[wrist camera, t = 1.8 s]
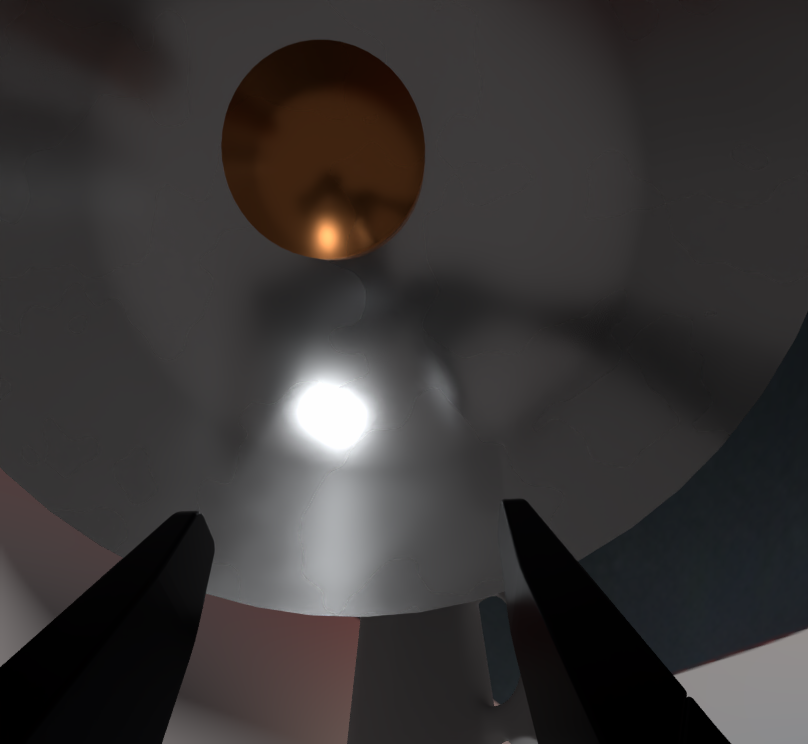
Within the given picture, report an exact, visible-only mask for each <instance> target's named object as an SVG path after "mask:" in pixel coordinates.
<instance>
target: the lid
mask: <svg viewBox="0 0 808 744" xmlns="http://www.w3.org/2000/svg"><path fill="white" fill-rule="evenodd" d="M807 312H808V0H0V467H1V468H2V469H3V471H4V472H5V473H6V474H8V475H9V476H10V477H11V478H12V479H13V480H14V481H16V482H17V483H18V484H19V485H20V486H21V487H23V488H24V489H25V490H26V491H27V492H28V493H30V494H31V495H32V496H33V497H35V499H37V500H38V501H39V502H40V503H41V504H43V505H44V506H45V507H46V508H47V509H48V510H49V511H50V512H52V513H53V514H55V515H56V516H58V517H59V518H61V519H62V520H64V521H65V522H66V523H68V524H69V525H71V526H72V527H74V528H75V529H77V530H78V531H80V532H81V533H83V534H84V535H85V536H87V537H88V538H90V539H91V540H93V541H94V542H96V543H97V544H99V545H100V546H102V547H104V548H106V549H108V550H110V551H112V552H114V553H115V554H117V555H119V556H121V557H123V558H124V557H125V556H126V555H127V554H128V553H129V552H131V551H132V550H133V549H134V548H135V547H136V546H137V545H138V544H140V543H141V542H142V541H143V540H144V539H145V538H146V537H147V536H149V535H150V534H151V533H152V532H153V531H154V530H155V529H156V528H158V527H159V526H160V525H161V524H162V523H163V522H164V521H165V520H167V519H168V518H169V517H170V516H171V515H172V514H174V513H176V512H179V511H199V512H201V513H202V514H203V516H204V518H205V520H206V523H207V525H208V527H209V530H210V532H211V534H212V537H213V539H214V543H215V554H214V559H213V563H212V568H211V572H210V577H209V581H208V586H207V590H206V594H210V595H213V596H217V597H221V598H225V599H228V600H232V601H236V602H240V603H243V604H247V605H251V606H255V607H260V608H266V609H273V610H280V611H287V612H293V613H301V614H307V615H324V616H355V617H370V616H382V615H393V614H405V613H417V612H424V611H429V610H434V609H439V608H444V607H449V606H454V605H458V604H463V603H468V602H473V601H477V600H480V599H483V598H486V597H489V596H492V595H495V594H498V593H501V592H504V591H505V589H504V582H503V575H502V567H501V560H500V552H499V545H498V520H499V506H500V502H501V500H503V499H517V498H522V499H525V500H526V501H527V502H528V503H529V504H530V505H531V506H532V507H533V509H534V510H535V511H536V512H537V513H538V515H539V516H540V517H541V518H542V519H543V521H544V522H545V523H546V524H547V525H548V527H549V528H550V529H551V530H552V531H553V533H554V534H555V535H556V536H557V537H558V539H559V540H560V541H561V542H562V543H563V544H564V546H565V547H566V548H567V549H568V550H569V552H570V553H571V554H572V555H573V556H574V558H575V559H576V560H577V561H578V560H580V559H582V558H584V557H585V556H587V555H588V554H590V553H592V552H593V551H595V550H596V549H598V548H600V547H601V546H603V545H604V544H606V543H608V542H609V541H611V540H613V539H614V538H616V537H617V536H619V535H621V534H622V533H624V532H625V531H627V530H629V529H630V528H632V527H633V526H634V525H636V524H637V523H638V522H639V521H641V520H642V519H643V518H644V517H646V516H647V515H648V514H649V513H651V512H652V511H653V510H654V509H656V508H657V507H658V506H659V505H660V504H662V503H663V502H664V501H665V500H667V499H668V498H669V497H670V496H672V495H673V494H674V493H675V492H677V491H678V490H679V489H680V488H681V487H682V486H683V485H684V484H685V483H686V482H687V481H688V480H689V479H690V478H691V477H692V476H693V475H694V474H695V473H696V472H697V471H698V470H699V469H700V468H701V467H702V466H703V465H704V464H705V463H706V462H707V461H708V460H709V459H710V458H711V457H712V456H713V455H714V454H715V453H716V451H717V450H718V449H719V448H720V447H721V446H722V445H723V444H724V443H725V442H726V440H727V439H728V438H729V436H730V435H731V434H732V432H733V431H734V430H735V429H736V427H737V426H738V425H739V423H740V422H741V421H742V420H743V418H744V417H745V416H746V414H747V413H748V412H749V410H750V409H751V408H752V407H753V405H754V404H755V403H756V401H757V400H758V399H759V398H760V396H761V395H762V393H763V392H764V390H765V388H766V387H767V385H768V383H769V382H770V380H771V378H772V377H773V375H774V373H775V372H776V370H777V368H778V367H779V365H780V363H781V362H782V360H783V358H784V357H785V355H786V353H787V352H788V350H789V348H790V347H791V345H792V343H793V342H794V340H795V338H796V336H797V334H798V332H799V330H800V327H801V325H802V323H803V321H804V318H805V316H806V314H807Z"/></svg>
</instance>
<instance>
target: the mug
mask: <svg viewBox="0 0 808 744" xmlns="http://www.w3.org/2000/svg"><path fill="white" fill-rule="evenodd" d="M492 596H498V597H500V598H501V599H502V600H504V602H505V603H506V597H505V591H504V592H501V593H498V594H495V595H492ZM489 597H491V596H489ZM486 598H488V597H486ZM486 598H483V599H480V600H477V601H473V602H468V603H463V604H458V605H454V606H449V607H444V608H439V609H434V610H429V611H424V612H417V613H405V614H393V615H382V616H370V617H361V620H360V630H359V639H358V649H357V659H356V667H355V676H354V685H353V695H352V704H351V713H350V722H349V732H348V741H347V742H348V743H347V744H502V743H503V742H505V741H509V742H510V743H511V744H538V742H537V738H536V734H535V730H534V726H533V722H532V718H531V714H530V710H529V706H528V702H527V698H526V694H525V690H524V686H523V682H522V678H521V675H520V679H519V682H518V685H517V687H516V689H515V691H514V693H513V694H512V696H511V697H510V698H509V700H507V701H506V702H505V703H503V704H502V705H498V706H494V702H493V696H492V690H491V683H490V677H489V670H488V664H487V658H486V651H485V645H484V638H483V632H482V625H481V619H480V612H479V605H478V604H479V603H480V602H481V601H482V600H484V599H486Z"/></svg>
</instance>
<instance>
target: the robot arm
mask: <svg viewBox="0 0 808 744" xmlns="http://www.w3.org/2000/svg"><path fill="white" fill-rule="evenodd" d="M498 545H499V552H500V560H501V567H502V575H503V582H504V589H505V597H506V604H507V612H508V619H509V625H510V631H511V636H512V641H513V645H514V650H515V654H516V658H517V662H518V666H519V670H520V674H521V678H522V682H523V686H524V690H525V694H526V698H527V702H528V706H529V710H530V714H531V718H532V722H533V726H534V730H535V734H536V738H537V742H538V744H731V743H730V742H729V741H728V740H727V739H726V737H725V736H724V735H723V734H722V733H721V732H720V730H719V729H718V728H717V727H716V726H715V725H714V724H713V722H712V721H711V720H710V719H709V717H708V716H707V715H706V714H705V712H704V711H703V710H702V709H701V708H700V706H699V705H698V704H697V703H696V702H695V701H694V699H693V698H691V697H687V692H686V690H685V689H684V688H683V686H682V685H681V684H680V683H679V682H678V681H677V679H676V678H675V677H674V676H673V675H672V673H671V672H670V671H669V670H668V669H667V667H666V666H665V665H664V664H663V663H662V661H661V660H660V659H659V658H658V657H657V655H656V654H655V653H654V652H653V651H652V649H651V648H650V647H649V646H648V645H647V644H646V642H645V641H644V640H643V639H642V638H641V636H640V635H639V634H638V633H637V632H636V630H635V629H634V628H633V627H632V626H631V624H630V623H629V622H628V621H627V620H626V618H625V617H624V616H623V615H622V614H621V613H620V611H619V610H618V609H617V608H616V607H615V605H614V604H613V603H612V602H611V601H610V599H609V598H608V597H607V596H606V595H605V593H604V592H603V591H602V590H601V589H600V587H599V586H598V585H597V584H596V583H595V581H594V580H593V579H592V578H591V577H590V576H589V574H588V573H587V572H586V571H585V570H584V568H583V567H582V566H581V565H580V564H579V562H578V561H577V560H576V559H575V558H574V556H573V555H572V554H571V553H570V552H569V550H568V549H567V548H566V547H565V546H564V544H563V543H562V542H561V541H560V540H559V539H558V537H557V536H556V535H555V534H554V533H553V531H552V530H551V529H550V528H549V527H548V525H547V524H546V523H545V522H544V521H543V519H542V518H541V517H540V516H539V515H538V513H537V512H536V511H535V510H534V509H533V507H532V506H531V505H530V504H529V503H528V502H527V501H526V500H525V499H522V498H517V499H503V500H501V502H500V506H499V520H498ZM214 554H215V543H214V539H213V537H212V534H211V532H210V530H209V527H208V525H207V523H206V520H205V518H204V516H203V514H202V513H201V512H199V511H179V512H176V513H174V514H172V515H171V516H170V517H169V518H168V519H167V520H165V521H164V522H163V523H162V524H161V525H160V526H159V527H158V528H156V529H155V530H154V531H153V532H152V533H151V534H150V535H149V536H147V537H146V538H145V539H144V540H143V541H142V542H141V543H140V544H138V545H137V546H136V547H135V548H134V549H133V550H132V551H131V552H129V553H128V554H127V555H126V556H125V557H124V558H123V559H122V560H121V561H119V562H118V563H117V564H116V565H115V566H114V567H113V568H111V569H110V570H109V571H108V572H107V573H106V574H105V575H103V576H102V577H101V578H100V579H99V580H98V581H97V582H96V583H95V584H93V585H92V586H91V587H90V588H89V589H88V590H87V591H85V592H84V593H83V594H82V595H81V596H80V597H79V598H78V599H76V600H75V601H74V602H73V603H72V604H71V605H70V606H69V607H67V609H65V610H64V611H63V612H62V613H61V614H60V615H58V616H57V617H56V618H55V619H54V620H53V621H52V622H51V623H50V624H48V625H47V626H46V627H45V628H44V629H43V630H42V631H40V632H39V633H38V634H37V635H36V636H35V637H34V638H33V639H31V641H29V642H28V643H27V644H26V645H25V646H24V647H23V648H21V649H20V650H19V651H18V652H17V653H16V654H15V655H13V656H12V657H11V658H10V659H9V660H8V661H7V662H6V663H5V664H3V665H2V666H1V667H0V744H162V742H163V738H164V735H165V732H166V729H167V726H168V723H169V720H170V717H171V714H172V711H173V708H174V705H175V702H176V699H177V696H178V693H179V690H180V687H181V684H182V681H183V678H184V674H185V672H186V668H187V666H188V663H189V660H190V656H191V653H192V650H193V646H194V642H195V639H196V635H197V631H198V627H199V622H200V618H201V613H202V609H203V604H204V599H205V595H206V590H207V586H208V581H209V577H210V572H211V568H212V563H213V559H214ZM686 697H687V698H686Z"/></svg>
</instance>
